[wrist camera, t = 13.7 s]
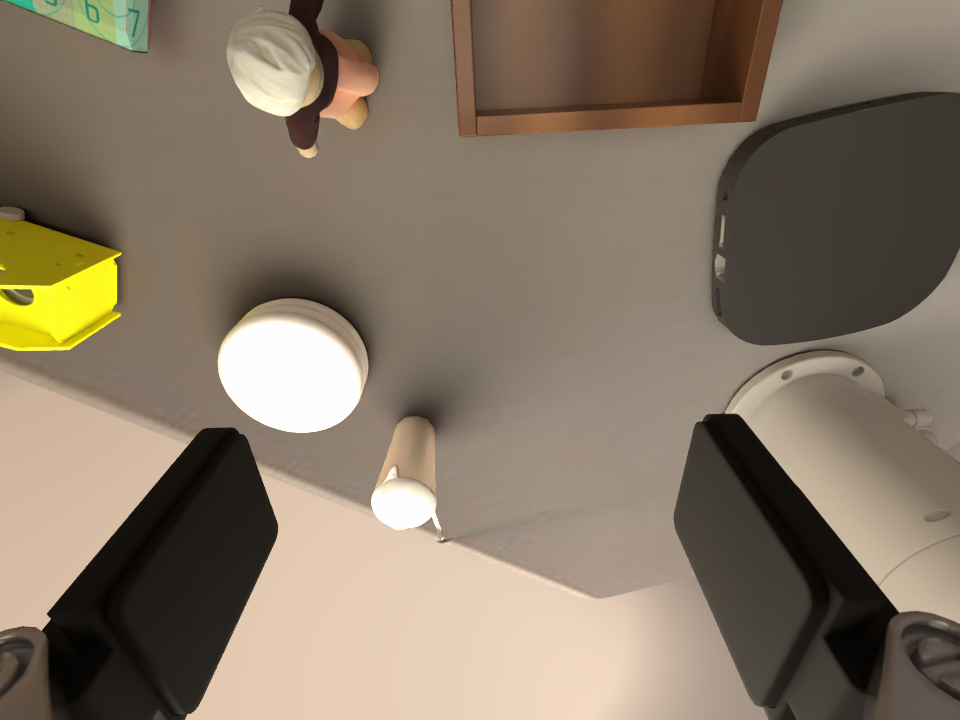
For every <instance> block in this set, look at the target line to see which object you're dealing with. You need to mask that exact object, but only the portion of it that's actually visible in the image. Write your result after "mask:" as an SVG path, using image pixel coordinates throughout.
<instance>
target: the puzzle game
mask: <svg viewBox="0 0 960 720" xmlns="http://www.w3.org/2000/svg"><path fill="white" fill-rule="evenodd" d="M2 1H5V2H7V3H10V4H13V5H15V6H18V7H20V8H23V9H25V10H28V11H30V12H33V13H35V14H38V15H40V16H43V17H45V18H48V19H50V20H53V21H56V22H58V23H61V24H63V25H66V26H68V27H71V28H73V29H76V30H78V31H81V32H83V33H86V34H88V35H91V36H93V37H96V38H99V39H101V40H104V41H106V42H109V43H111V44H114V45H116V46H119V47H121V48H124V49H126V50H129V51H131V52H139V53H147V52H148V47H149V42H150V34H151V0H2Z"/></svg>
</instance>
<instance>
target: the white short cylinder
mask: <svg viewBox="0 0 960 720" xmlns="http://www.w3.org/2000/svg"><path fill="white" fill-rule="evenodd" d="M218 371H219V376H220V379H221V382H222V384H223V386H224V388H225V390H226V392H227V393H228V395H229V396H230V397H231V399H232V400H233V401H234V402H235V403H236V405H237V406H238V407H239V408H240V409H242V410H243V411H244V412H245V413H246V414H248V415H249V416H251V417H252V418H254V419H256V420H257V421H259V422H261V423H263V424H265V425H268V426H270V427H273V428H276V429H280V430H284V431H290V432H314V431H319V430H323V429H326V428H329V427H332V426H334V425H336V424H338V423H339V422H341V421H342V420H344V419H345V418H346V417H347V416H348V415H349V414H350V413H351V412H352V411H353V409H354V408H355V407H356V405H357V403H358V402H359V399H360V397H361V393H362V391H363V388H364V385H365V382H366V379H367V375H368V356H367V352H366V349H365V346H364V344H363V341H362V339H361V338H360V336H359V334H358V333H357V331H356V330H355V329H354V327H353V326H352V325H351V324H350V323H349V322H348V321H347V320H346V319H345V318H343V317H342V316H341V315H340V314H338V313H337V312H335V311H334V310H332V309H330V308H328V307H326V306H324V305H322V304H319V303H316V302H313V301H309V300H304V299H294V298H286V299H278V300H273V301H269V302H266V303H264V304H261V305H259V306H257V307H255V308H254V309H252V310H251V311H249V312H248V313H247V314H246V315H245V316H244V317H243V318H242V319H241V320H240V321H239V322H238V323H237V324H236V326H235V327H233V328H232V329H231V330H230V332H229V333H228V334H227V335H226V337H225V338H224V340H223V342H222V344H221V347H220V350H219V355H218Z"/></svg>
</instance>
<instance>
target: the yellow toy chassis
mask: <svg viewBox="0 0 960 720" xmlns="http://www.w3.org/2000/svg"><path fill="white" fill-rule="evenodd" d="M24 219H25V214H24V211H23V210H22V209H19V208H15V207H0V346H2V347H6V348H9V349H13V350H17V351H30V350H70V349H71V348H73V347H74V346H76V345H77V344H79V343H80V342H82V341H83V340H85V339H86V338H88V337H89V336H91V335H92V334H94V333H95V332H97V331H98V330H100V329H101V328H103V327H104V326H106V325H107V324H109V323H110V322H112V321H113V320H115V319H116V318H118V317H119V316H121V313H118V312H115V311H112V310H113V307H114V305H115V304H117V265H116V263H115V261H114V258H116V257H118V256H120V255H121V252H119V251H116V250H113V249H110V248H106V247H103V246H100V245H97V244H94V243H91V242H88V241H85V240H82V239H79V238H76V237H72V236H69V235H66V234H63V233H60V232H57V231H54V230H51V229H48V228H45V227H42V226H38V225H35V224H32V223H29V222H26V221H23V220H24Z"/></svg>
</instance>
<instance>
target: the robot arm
mask: <svg viewBox="0 0 960 720" xmlns="http://www.w3.org/2000/svg"><path fill="white" fill-rule="evenodd" d="M884 397H885V390H884V386H883V382H882V380H881V378H880V377H879V375H878V373H877V372H876V371H875V370H874V369H873V368H872V367H870V366H869V365H868V364H866V363H865V362H863V361H862V360H860V359H859V358H857V357H856V356H853V355H850V354H847V353H844V352H838V351H830V350H828V351H812V352H807V353H802V354H798V355H795V356H792V357H789V358H786V359H783V360H781V361H779V362H777V363H775V364H773V365H771V366H769V367H767V368H766V369H764V370H763V371H761V372H760V373H758V374H757V375H755V376H754V377H753V378H752V379H750V380H749V381H748V382H747V383H746V384H745V385H744V386H743V387H742V388H741V389H740V390H739V391H738V393H737V394H736V395H735V396H734V397H733V399H732V400H731V402H730V404H729V406H728V407H727V409H726V411H725V414H708V415H706V416H705V417H704V419H703V421H702V422H697V423H696V424H695V427H694V431H693V435H692V439H691V443H690V448H689V452H688V456H687V460H686V465H685V469H684V473H683V477H682V482H681V486H680V490H679V494H678V499H677V503H676V507H675V511H674V525H675V529H676V532H677V534H678V536H679V539H680V541H681V543H682V546H683V548H684V550H685V552H686V555H687V557H688V559H689V561H690V564H691V566H692V568H693V570H694V573H695V575H696V577H697V579H698V582H699V584H700V586H701V588H702V591H703V593H704V595H705V598H706V599H707V602H708V604H709V607H710V609H711V611H712V613H713V615H714V618H715V620H716V622H717V625H718V627H719V629H720V631H721V634H722V636H723V638H724V640H725V643H726V645H727V647H728V650H729V652H730V654H731V656H732V658H733V661H734V663H735V665H736V667H737V670H738V672H739V674H740V677H741V679H742V681H743V683H744V686H745V688H746V690H747V693H748V695H749V696H750V698H751V700H752V701H753V703H754V704H755V705H757V706H760V707H763V708H764V710H765V712H766V715H767V717H768V719H769V720H960V463H959V462H958V461H957V460H955V459H954V458H953V457H951V456H950V455H949V454H947V453H946V452H945V451H944V450H942V449H941V448H940V447H939V446H938V441H937V438H936V437H935V435H934V434H933V433H932V432H930V431H928V430H917V429H915V428H914V427H925V426H930V425H931V424H932V423H933V420H934V418H933V415H932V413H931V412H930V411H929V410H926V409H915V410H905V411H901V410H900V409H899V408H897V407H896V406H895V405H893V404H892V403H891V402H890V401H888V400H887V399H886V398H884ZM277 534H278V524H277V520H276V517H275V515H274V512H273V509H272V506H271V504H270V501H269V498H268V495H267V492H266V490H265V487H264V484H263V482H262V479H261V476H260V473H259V470H258V468H257V465H256V462H255V459H254V456H253V454H252V451H251V448H250V445H249V443H248V440H247V438H246V436H245V435H243V434H239V432H238V431H237V430H236V429H235V428H206V429H203V430H201V431H200V432H199V433H198V434H197V435H196V437H195V438H194V439H193V440H192V441H191V443H190V444H189V445H188V446H187V447H186V449H185V450H184V451H183V452H182V453H181V455H180V456H179V457H178V458H177V459H176V461H175V462H174V463H173V464H172V465H171V466H170V468H169V469H168V470H167V471H166V472H165V474H164V475H163V476H162V477H161V478H160V480H159V481H158V482H157V483H156V484H155V486H154V487H153V488H152V489H151V490H150V491H149V493H148V494H147V495H146V496H145V497H144V499H143V500H142V501H141V502H140V503H139V505H138V506H137V507H136V508H135V509H134V511H133V512H132V513H131V514H130V515H129V517H128V518H127V519H126V520H125V521H124V522H123V524H122V525H121V526H120V527H119V528H118V530H117V531H116V532H115V533H114V534H113V536H112V537H111V538H110V539H109V540H108V541H107V543H106V544H105V545H104V546H103V548H102V549H101V550H100V551H99V552H98V554H97V555H96V556H95V557H94V558H93V559H92V561H91V562H90V563H89V564H88V565H87V566H86V568H85V569H84V570H83V571H82V572H81V574H80V575H79V576H78V577H77V578H76V580H75V581H74V582H73V583H72V584H71V586H70V587H69V588H68V589H67V590H66V591H65V593H64V594H63V595H62V596H61V597H60V599H59V600H58V601H57V602H56V603H55V605H54V606H53V607H52V608H51V609H50V611H49V612H48V613H47V615H48V616H49V617H50V618H51V620H50V621H49V623H48V624H47V625H46V626H45V627H44V629H43V630H42V631H40V630H39V629H37V628H35V627H24V626H22V627H17V628H13V629H8V630H4V631H2V632H0V720H185V718H186V716H187V714H191V713H192V712H194V711H195V710H196V708H197V707H198V706H199V704H200V702H201V700H202V698H203V696H204V694H205V692H206V690H207V687H208V685H209V683H210V681H211V679H212V677H213V674H214V672H215V670H216V668H217V666H218V663H219V661H220V659H221V657H222V655H223V653H224V651H225V649H226V646H227V644H228V642H229V640H230V638H231V636H232V634H233V631H234V629H235V627H236V625H237V623H238V621H239V619H240V616H241V614H242V612H243V610H244V607H245V606H246V603H247V601H248V599H249V597H250V595H251V593H252V590H253V588H254V586H255V584H256V582H257V580H258V577H259V575H260V573H261V571H262V569H263V567H264V565H265V562H266V560H267V558H268V556H269V554H270V552H271V550H272V547H273V545H274V543H275V541H276V538H277Z"/></svg>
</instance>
